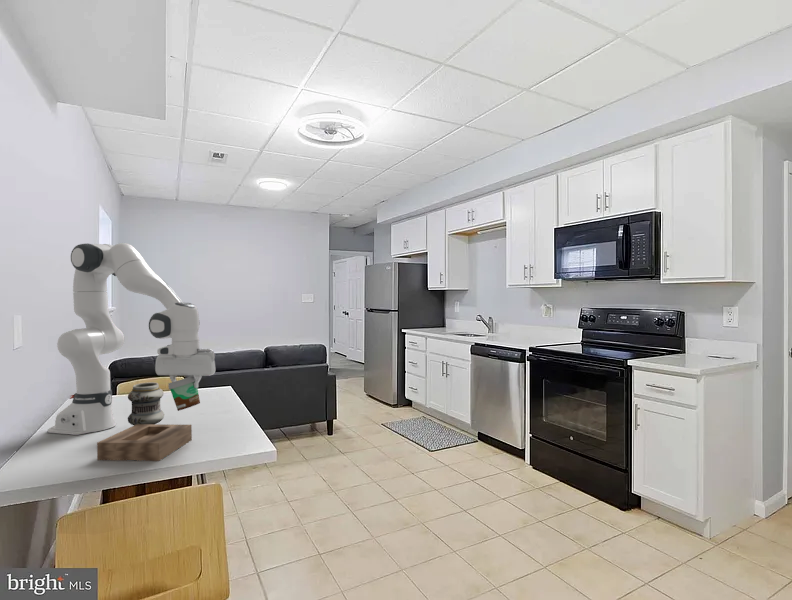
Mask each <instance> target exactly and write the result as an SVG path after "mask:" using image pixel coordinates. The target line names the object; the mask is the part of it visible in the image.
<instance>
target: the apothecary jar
mask: <svg viewBox="0 0 792 600" xmlns="http://www.w3.org/2000/svg"><path fill="white" fill-rule="evenodd" d="M163 396H164V391H163V389H161V388H160V386H159V383H158V382H155V381H154V382H153V381H151V382H149V381H148V382H141V383H136V384H134V385H132V389H131V391H130V392H129V393H128V395H127V398H128V400H129V402H131V413H130V414H129V415H128V417H127V422H128V423H129V424H130V425H132V426H134V425H136V424H160V422H161V421H162V420H163V419H164V417H165V413H164V411H163V410H162V409H161V408H162V407H161V399H162V397H163Z"/></svg>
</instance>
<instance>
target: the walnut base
mask: <svg viewBox="0 0 792 600" xmlns="http://www.w3.org/2000/svg"><path fill="white" fill-rule="evenodd" d="M192 432H193V431H192V424H160V423H157V424H136V425H132V426H130V427H128V428H126V429H124V430H122V431H120V432H117V433H115V434H112V435H110V436H109V437H106V438H103V439H102V440H99V441H98V442H96V452H97V459H96V460H97V461H127V460H137V461H138V460H139V461H141V462H142V460H143V462H150V461H152V462H159V461H161V459H162V460H163V459H165V458H166V457H168V456H170V455H171V454H172V452H173V451H174V452H176V451H177V450H179V449H180V448H182V447H184V446H185V445H186V443H187V444H188V443H190V442H191V441H192V438H193V437H192V436H193V434H192ZM189 441H190V442H189ZM181 446H182V447H181ZM178 448H179V449H178ZM175 450H176V451H175ZM174 452H173V453H174ZM167 455H168V456H167ZM164 457H165V458H164ZM144 460H145V461H144ZM139 461H138V462H139Z"/></svg>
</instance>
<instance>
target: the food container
mask: <svg viewBox="0 0 792 600" xmlns="http://www.w3.org/2000/svg"><path fill="white" fill-rule="evenodd" d="M195 381H196V379H195V376H189V375H188V376H186V377H185V378H182V379H178V380H177V381H175V382H172V381H171V382H168V383H167V384H168V390H170V393H171V395H172V398H173V401H174V404H175V406H176V410H177V411H178V412H179V411H182V410H185V409H189V408H192V407H195V406H197V405H199V404H201V400H200V396H199V390H198V388H194V387H193V383H195Z"/></svg>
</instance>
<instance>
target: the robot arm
mask: <svg viewBox="0 0 792 600" xmlns="http://www.w3.org/2000/svg"><path fill="white" fill-rule="evenodd" d="M70 262H71V265H72V266H73V268H74V269H75V270H74V274H73V286H72V291H73V292H72V294H73V310H74V311H73V312H74V314H76V316H78V317H79V318H81V319H82V321H83V322H84V324H85V328H84V327H83V328H76V329H73V330H72V329H71V330H69V331H66V332H64V333H62V334H61V335H60V336H59V337H58V340H57V343H56V344H57V345H56V347H57V350H58V352H59V353H60V355H61V356H63V357H64V358H66V359H67V360H68V361H69V362H70V364H71V365H72V368H73V370H74V373H75V383H76V384H75V387H76V392H75V393H73V394H71V395H70V397H69V400H71V399H72V401H71V403H70V404H69V405H67V406H66V407H65V408H64V409H62V410H60V412H59V413H58V414H57V415H56V416H55V420H54V421H55V422H54V426H53V425H52V426H51V427H49V428H48V429H47V433H49V434H50V433H51V434H60V435H61V434H62V435H74V436H77V435H84V434H89V433H95V432H100V431H104V430H105V431H106V430H110V429H111V428H113V427H115V426H116V425H117V423H116V419H115V416H114V413H113V406H112V402H113V391H112V389H111V371H110V369H109V368H108V367H107V366H105V365H103V364H102V362H101V359H100V356H101V355H105V354H111V353H113V352H116V351H118V350H119V349H121V348H122V347H123V346H124V344H125V335H124V333H123V331H122V330H121V329H120V328H118V327H117V326H116V324H115V323H114V321H113V319H112V317H111V313H110V311H109V309H110V308H109V298H108V297H109V295H108V284H107V283H108V278H109V276H111V275H113V276H114V277H116V278H117V280H118V281H119V283H120V285H122V286H123V288H125V289H126V290H127V291H129V292H131V293H133V294H141V295H144V296H147V297H150V298H153V299H156V300H157V301H158V302H160V304H162V305H163V307H164V308H165V310H162V311H159V312H155V313H154V314H152V315H151V317H150V318H149V321H148V330H149V332H150V334H151V335H152V337H154V338H155V339H161V340H162V339H164V340H165V339H171V344H168V345H165V346H163V347H160V348H157V355H158V356H156V359H155V365H154V367H155V368H154V370H155V373H156V375H157V376H169V379H170V381H171V382H175V381H178V380H177V379H176V378H177V377H178V376H188V377H189V376H195V379H196V381H195V383H193V387H194V388H197V389H198V388H199V383H200V381H201V380H202V377H206V376H207V377H208V376H212V375H214V374H215V373H216V369H217V368H216V361H215V359H216V353H215V352H214V350H212V349H210V348H200V337H199V329H200V315H199V310H198V307H197V305H196V304H193V303H191V302H185V301H183V300H182V299H181V298H180V296H178V294H177V293H176V291H175V290H174V289H173V288H172V287H171V286H170V285H169V284H168V283H167V282H166V281H165V280H164V279H163V278H161V277H160V276H159V275H158V274H156V273H155V272H154V270H153V269H152V268H151V267H150V266H149V264H148V263H147V261H146V260H145V258H144V257H143V255H141V253H140V252H139V251H138V250H137V249H136V248H135V247H134V246H133V245H131V244H130V243H125V242H122V243H121V242H120V243H119V242H118V243H116V244H110V243H109V244H106V243H103V244H102V243H99V244H98V243H80V244H77V245H75V246H74V247H73V249H72V251H71V253H70Z"/></svg>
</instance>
